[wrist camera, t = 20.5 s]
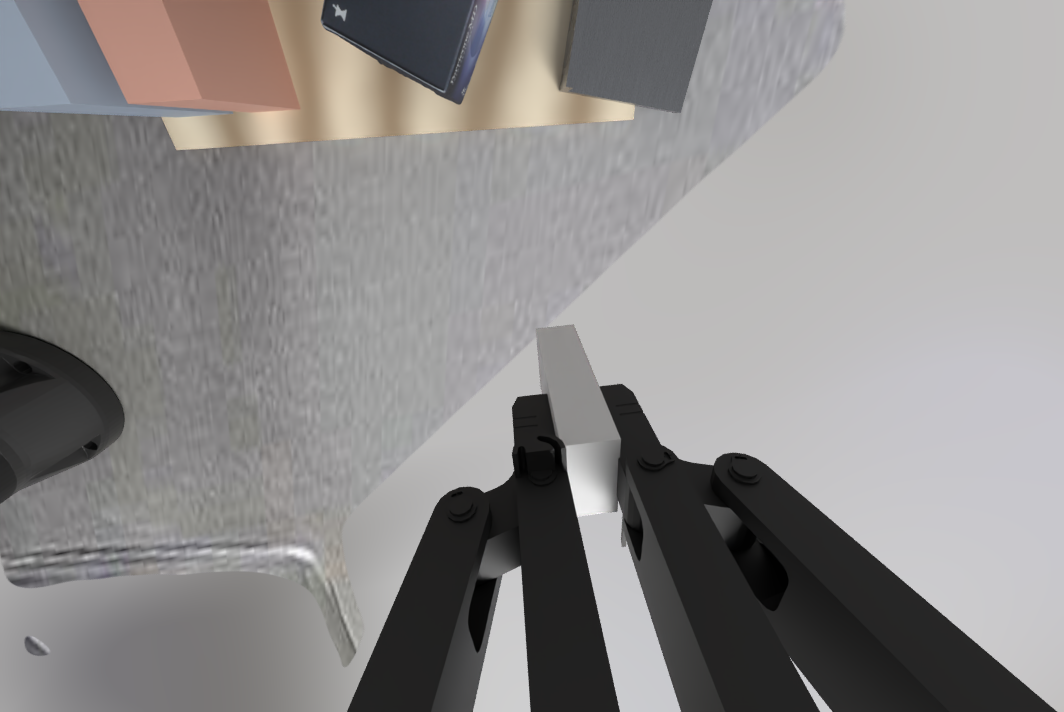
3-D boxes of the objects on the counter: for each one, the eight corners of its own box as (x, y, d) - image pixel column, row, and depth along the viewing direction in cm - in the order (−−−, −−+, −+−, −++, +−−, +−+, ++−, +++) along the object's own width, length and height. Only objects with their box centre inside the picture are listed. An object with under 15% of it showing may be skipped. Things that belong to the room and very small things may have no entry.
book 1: (176, 117, 27) (-22, 109, 17) (107, -38, 23) (-207, -171, 13) (233, 113, 28) (71, 103, 17) (174, -42, 24) (-84, -176, 13)
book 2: (251, 112, 28) (128, 103, 19) (195, -43, 24) (3, -151, 15) (300, 109, 28) (202, 99, 19) (253, -46, 24) (98, -155, 15)
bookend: (565, 86, 25) (694, 110, 26) (597, -116, 21) (751, -76, 22) (559, 91, 28) (675, 113, 29) (585, -84, 24) (721, -51, 25)
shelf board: (186, 149, 29) (176, 150, 28) (62, -126, 22) (44, -136, 21) (629, 119, 30) (633, 119, 29) (646, -155, 23) (651, -166, 22)
